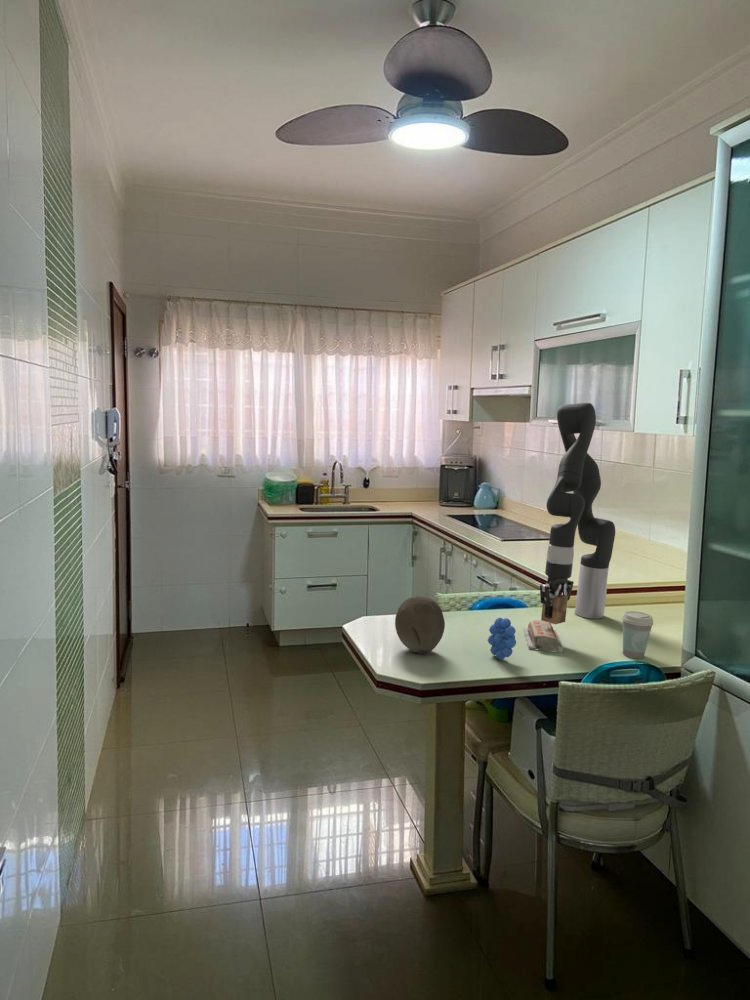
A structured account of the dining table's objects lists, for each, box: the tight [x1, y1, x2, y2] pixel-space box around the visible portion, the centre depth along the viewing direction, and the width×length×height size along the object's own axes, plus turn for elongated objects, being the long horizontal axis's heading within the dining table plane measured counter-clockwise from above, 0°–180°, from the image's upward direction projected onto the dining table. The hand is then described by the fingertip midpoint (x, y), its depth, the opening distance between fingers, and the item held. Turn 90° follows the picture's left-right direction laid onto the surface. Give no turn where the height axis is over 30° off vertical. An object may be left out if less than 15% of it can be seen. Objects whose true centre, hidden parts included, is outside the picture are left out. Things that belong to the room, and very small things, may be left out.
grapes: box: [487, 617, 517, 661], centre depth 198 cm, size 12×7×12 cm, turn 23°
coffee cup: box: [621, 610, 654, 660], centre depth 209 cm, size 9×8×12 cm
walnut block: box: [540, 594, 568, 625], centre depth 215 cm, size 5×5×8 cm
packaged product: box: [523, 620, 564, 653], centre depth 216 cm, size 18×5×10 cm
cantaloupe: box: [394, 595, 446, 654], centre depth 200 cm, size 14×14×15 cm
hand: (553, 616), depth 216 cm, fingers closed on walnut block, 5 cm apart
